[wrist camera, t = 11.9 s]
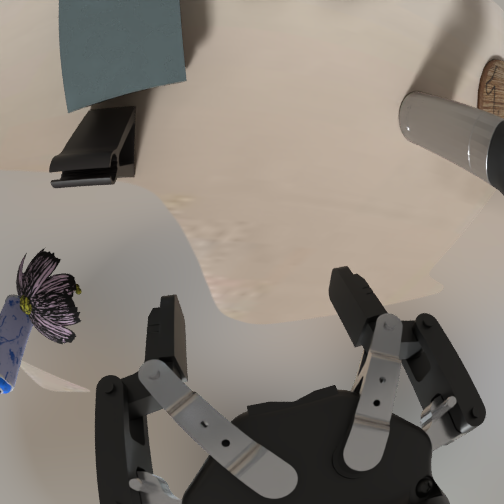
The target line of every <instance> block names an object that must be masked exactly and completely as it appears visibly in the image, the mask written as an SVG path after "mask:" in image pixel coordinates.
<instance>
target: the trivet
mask: <svg viewBox="0 0 504 504" xmlns="http://www.w3.org/2000/svg"><path fill="white" fill-rule="evenodd" d="M477 108H478V109H481V110H483V111H486V112H489V113H491V114H494V115H496V116H499V117H501V118H504V61H501V60H495V59H493V60H491V61H489V62H488V63H487V64H486V66H485V67H484V69H483V72H482V75H481V78H480V83H479V89H478V102H477Z"/></svg>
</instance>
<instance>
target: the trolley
mask: <svg viewBox="0 0 504 504" xmlns="http://www.w3.org/2000/svg"><path fill="white" fill-rule="evenodd" d="M59 42H60V56H61V67H62V76H63V84H64V91H65V97H66V103H67V109H68V113H70V112H73V111H76V110H79V109H82V108H84V107H88V106H91V105H94V104H97V103H100V102H103V101H105V100H108V99H112V98H115V97H118V96H122V95H125V94H129V93H133V92H137V91H141V90H145V89H149V88H154V87H158V86H165V85H170V84H175V83H181V82H185V81H187V80H186V71H185V61H184V51H183V40H182V29H181V16H180V1H179V0H59Z"/></svg>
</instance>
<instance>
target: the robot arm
mask: <svg viewBox="0 0 504 504" xmlns="http://www.w3.org/2000/svg"><path fill="white" fill-rule="evenodd" d="M399 122H400V127H401V130H402V133H403V135H404V136H405V137H406V139H407V140H409V141H410V142H412V143H414V144H416V145H419V146H421V147H423V148H425V149H427V150H429V151H431V152H433V153H435V154H437V155H439V156H441V157H443V158H445V159H447V160H449V161H451V162H453V163H454V164H456V165H458V166H460V167H462V168H463V169H465V170H467V171H469V172H470V173H472V174H474V175H475V176H477V177H479V178H481V179H482V180H484V181H485V182H487V183H489V184H490V185H492V186H493V187H495V188H496V189H498V190H499V191H500V192H501V193H502V194H503V195H504V118H501V117H499V116H496V115H494V114H491V113H489V112H486V111H483V110H481V109H478V108H475V107H472V106H469V105H466V104H463V103H460V102H457V101H453V100H450V99H446V98H443V97H439V96H436V95H432V94H427V93H423V92H419V91H417V92H412V93H410V94H409V95H407V96H406V98H405V99H404V101H403V102H402V105H401V108H400V113H399ZM329 297H330V300H331V302H332V304H333V306H334V308H335V310H336V312H337V313H338V315H339V317H340V319H341V321H342V323H343V325H344V327H345V329H346V330H347V333H348V335H349V337H350V339H351V340H352V342H353V344H354V346H355V347H358V346H361V345H362V346H363V348H364V350H363V353H362V357H361V361H360V364H359V368H358V371H357V375H356V378H355V381H354V384H353V386H352V388H351V391H347V390H337V388H336V386H335V385H333V386H330V387H326V388H323V389H320V390H316V391H313V392H312V393H310V394H308V395H306V396H304V397H302V398H300V399H299V400H297V401H294V402H266V403H261V404H256V405H250V406H247V409H248V411H247V412H245V413H242V414H241V415H239V416H237V417H236V418H235V419H233V420H232V421H231V422H229V421H228V420H227V419H226V418H225V417H224V416H222V415H221V414H220V413H219V412H218V411H217V410H215V409H214V408H213V407H212V406H211V405H210V404H209V403H208V402H206V401H205V400H204V399H203V398H202V397H201V396H200V395H199V394H197V393H196V392H193V391H192V390H191V389H190V388H189V387H188V386H186V385H185V383H183V382H186V381H188V376H187V358H186V335H185V320H184V316H183V313H182V310H181V307H180V304H179V301H178V298H177V295H168V296H162V297H161V303H160V307H158V308H153V309H152V311H151V313H150V315H149V316H148V327H147V338H146V351H145V362H144V364H142V366H141V367H140V369H139V371H138V372H136V373H135V374H133V375H130V376H128V377H125V378H122V379H120V378H118V377H117V376H113V375H108V376H105V377H103V378H102V379H101V380H100V381H99V383H98V384H97V388H96V406H95V407H96V408H95V450H96V451H95V453H96V470H97V482H98V491H99V500H100V504H450V503H449V500H448V498H447V497H446V495H445V494H444V493H443V492H442V490H441V489H440V488H439V487H438V485H437V484H436V482H435V481H434V479H433V477H432V471H431V458H432V451H434V450H435V449H437V448H439V447H440V446H442V445H448V444H449V443H451V442H453V441H454V440H457V439H458V438H460V437H462V436H463V435H465V434H467V433H468V432H470V431H471V430H473V429H474V428H476V427H477V426H479V425H480V424H482V423H483V421H484V419H485V415H486V410H485V406H484V404H483V402H482V400H481V398H480V396H479V394H478V392H477V390H476V388H475V386H474V384H473V382H472V380H471V378H470V376H469V374H468V372H467V370H466V368H465V367H464V365H463V363H462V361H461V359H460V358H459V356H458V354H457V352H456V351H455V349H454V347H453V346H452V344H451V342H450V341H449V339H448V337H447V336H446V334H445V333H444V331H443V329H442V328H441V326H440V324H439V323H438V321H437V320H436V319H435V317H433V316H432V315H430V314H427V313H423V314H420V315H418V317H417V318H416V320H415V321H401V320H400V319H399V318H398V317H397V316H395V315H393V314H389V313H387V311H386V310H385V309H384V307H383V305H382V304H381V302H380V301H379V299H378V298H377V297H376V295H375V294H374V293H373V291H372V289H371V288H370V287H369V285H368V283H367V282H366V281H365V279H364V278H362V277H361V276H359V275H358V274H354V275H353V273H352V272H351V270H350V269H349V267H347V266H344V267H339V268H334V269H333V270H332V274H331V280H330V286H329ZM401 363H402V365H403V367H404V369H405V370H406V373H407V375H408V377H409V379H410V381H411V384H412V386H413V388H414V390H415V392H416V395H417V397H418V399H419V402H420V404H421V406H422V408H423V411H422V413H421V421H420V424H421V426H422V429H421V428H420V427H418V426H416V425H414V424H412V423H410V422H408V421H406V420H404V419H403V418H401V417H399V416H397V415H395V414H393V413H392V410H393V406H394V401H395V397H396V392H397V387H398V381H399V375H400V369H401ZM163 408H164V410H166V412H167V413H168V414H169V415H170V416H171V417H172V418H173V419H174V420H175V421H176V423H178V425H179V426H180V427H181V428H183V430H184V431H185V432H186V433H187V434H188V435H189V436H190V437H191V438H192V439H193V440H194V441H196V442H197V443H198V444H199V445H200V446H201V447H202V448H203V449H204V450H205V451H206V452H207V453H208V454H210V455H209V456H208V458H207V459H206V461H205V463H204V464H203V466H202V467H201V469H200V470H199V472H198V473H197V475H196V477H195V478H194V479H193V481H192V482H191V484H190V485H189V487H188V489H187V490H186V491H185V493H184V495H183V498H182V499H179V498H177V497H176V496H174V495H173V494H172V492H171V491H170V489H169V486H168V484H167V482H166V481H165V480H164V479H163V478H161V477H159V476H156V475H154V474H153V469H152V462H151V455H150V446H149V437H148V427H147V414H150V413H153V412H155V411H158V410H160V409H163Z"/></svg>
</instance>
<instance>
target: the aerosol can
mask: <svg viewBox="0 0 504 504" xmlns="http://www.w3.org/2000/svg"><path fill="white" fill-rule="evenodd" d="M32 326H33V324H32V322H31V320H30V319H29V316H28V315H26V314H25V313H24V312H23V311H22V310H21V309H20V299H19V296H17V295H9V296H8V297H7V299H6V300H5V304H4V307H3V309H2V311H1V313H0V394H2V393H8V392H10V391H12V390H13V388H14V387H15V382H16V379H17V375H18V371H19V367H20V364H21V360H22V357H23V353H24V350H25V347H26V343H27V340H28V337H29V334H30V332H31V329H32Z"/></svg>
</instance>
